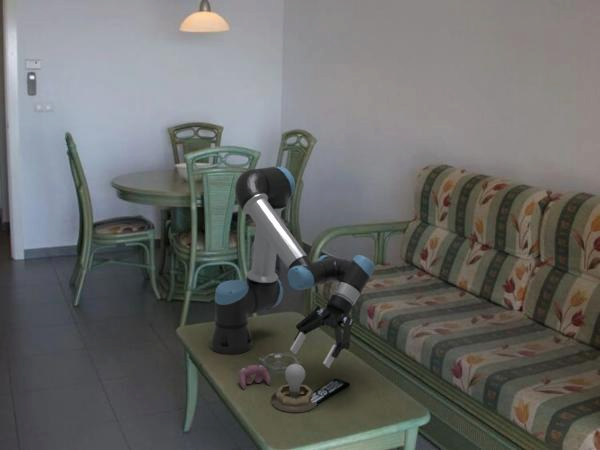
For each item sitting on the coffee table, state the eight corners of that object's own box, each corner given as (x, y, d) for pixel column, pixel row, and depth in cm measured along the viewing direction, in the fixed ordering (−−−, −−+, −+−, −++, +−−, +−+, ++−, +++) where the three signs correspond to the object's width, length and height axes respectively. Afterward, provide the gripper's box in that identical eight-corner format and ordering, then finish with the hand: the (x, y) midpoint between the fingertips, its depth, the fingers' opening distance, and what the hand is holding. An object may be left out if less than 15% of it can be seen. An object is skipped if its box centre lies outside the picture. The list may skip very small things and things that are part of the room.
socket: (263, 396, 211) (263, 386, 210) (304, 388, 217) (304, 377, 217) (283, 416, 199) (284, 405, 198) (326, 407, 205) (326, 396, 204)
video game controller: (267, 385, 222) (264, 363, 224) (272, 384, 218) (269, 362, 220) (238, 389, 219) (235, 367, 220) (242, 389, 214) (239, 366, 216)
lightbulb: (302, 404, 205) (303, 370, 202) (282, 401, 206) (283, 367, 203) (306, 395, 210) (307, 361, 208) (286, 392, 212) (287, 359, 209)
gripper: (379, 316, 210) (346, 377, 203) (318, 296, 227) (285, 352, 220) (369, 304, 205) (335, 365, 198) (308, 284, 222) (273, 340, 215)
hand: (308, 358), depth 209 cm, fingers open, 13 cm apart
